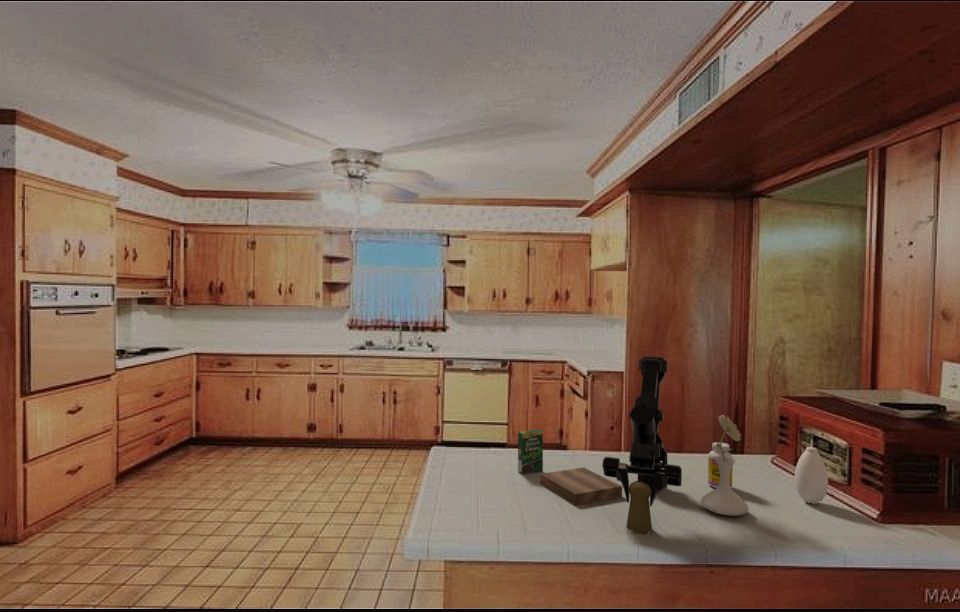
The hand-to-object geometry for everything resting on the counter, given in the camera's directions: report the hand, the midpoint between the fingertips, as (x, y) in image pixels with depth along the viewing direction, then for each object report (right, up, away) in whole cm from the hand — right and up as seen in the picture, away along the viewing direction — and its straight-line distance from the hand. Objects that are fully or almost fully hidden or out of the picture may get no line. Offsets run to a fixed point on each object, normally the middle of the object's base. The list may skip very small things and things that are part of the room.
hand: (639, 503), depth 124 cm
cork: (0, -7, +1) cm, 7 cm away
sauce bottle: (+54, -7, +19) cm, 58 cm away
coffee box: (-22, -6, +43) cm, 49 cm away
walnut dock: (-9, -6, +27) cm, 29 cm away
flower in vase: (+27, -7, +14) cm, 31 cm away
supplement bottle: (+34, -7, +31) cm, 47 cm away
